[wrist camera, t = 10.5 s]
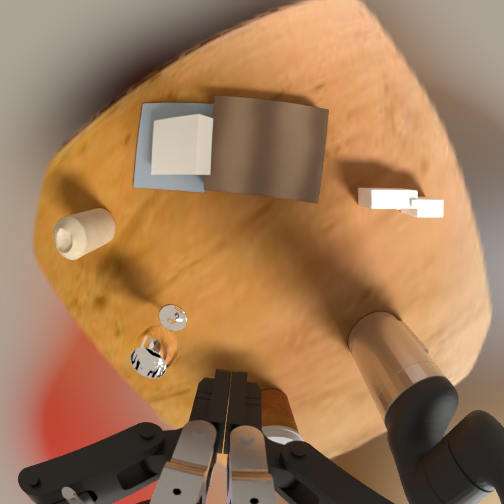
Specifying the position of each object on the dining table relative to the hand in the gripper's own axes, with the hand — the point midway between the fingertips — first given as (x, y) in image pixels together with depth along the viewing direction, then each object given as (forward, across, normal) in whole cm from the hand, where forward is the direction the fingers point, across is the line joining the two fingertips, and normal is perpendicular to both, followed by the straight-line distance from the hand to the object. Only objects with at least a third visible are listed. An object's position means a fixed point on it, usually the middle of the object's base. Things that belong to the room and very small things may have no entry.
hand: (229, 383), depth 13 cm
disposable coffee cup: (+27, -7, +27) cm, 39 cm away
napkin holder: (+28, -20, -9) cm, 36 cm away
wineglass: (+27, +10, +12) cm, 31 cm away
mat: (+27, +11, -13) cm, 32 cm away
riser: (+27, -1, -14) cm, 30 cm away
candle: (+27, +22, -1) cm, 35 cm away
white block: (+25, +9, -13) cm, 29 cm away
